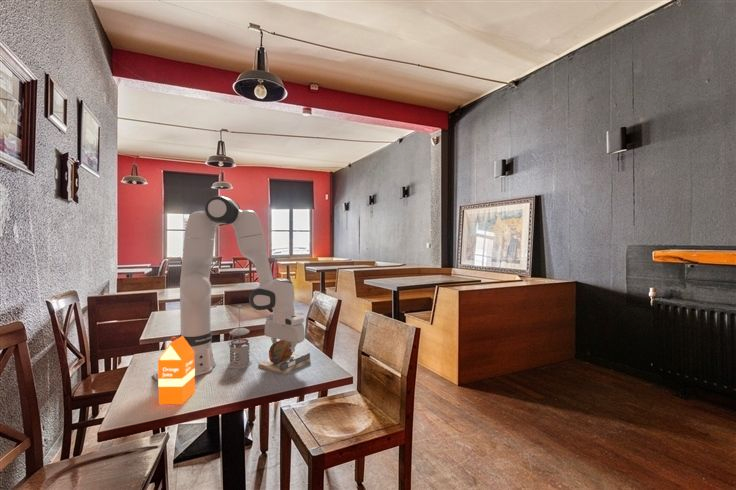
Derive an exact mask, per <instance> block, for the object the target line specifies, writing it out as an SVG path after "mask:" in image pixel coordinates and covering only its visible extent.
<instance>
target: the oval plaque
mask: <svg viewBox="0 0 736 490" xmlns="http://www.w3.org/2000/svg"><path fill="white" fill-rule="evenodd" d="M291 346H292V345H291V342H289V341H284V340H280V339H278V340H277V342H275V343H274V344H273V343H272V344H271V346H270V347H269V350H268V359H270V361H271V362H272V363H277V364H279V363H281V362H283V361H284V360H286V359H288V358H289V357H291V355H292V354H294V352H293V353H292V352H289V348H291Z"/></svg>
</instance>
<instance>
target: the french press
mask: <svg viewBox="0 0 736 490" xmlns="http://www.w3.org/2000/svg"><path fill="white" fill-rule="evenodd" d="M242 308H243V307H242V305H240V304H239V305H237V306H236V309H238V327H236V328H233V329H232V330H230V331H229V332H228V334H229V336H228V340H230V338H231V336H232V338H231V341H230V342H228V346H229V347H228V348H229V362H228V364H227V368H230V369H231V370H232V369H237V370H238V369H244V368H247V367H249V366H251V365H252V364H253V362H252V360H250V343H249V339H247V338H241V336H245V335H248V334H249V333H250V331H251V330H250V329H247V328H245V327H241V325H240V324H241V320H240V319H241V317H240V316H241V315H240V311H241V310H240V309H242ZM235 337H238V338H236V339H234V338H235Z"/></svg>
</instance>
